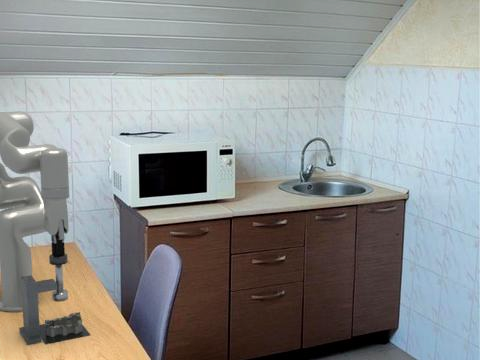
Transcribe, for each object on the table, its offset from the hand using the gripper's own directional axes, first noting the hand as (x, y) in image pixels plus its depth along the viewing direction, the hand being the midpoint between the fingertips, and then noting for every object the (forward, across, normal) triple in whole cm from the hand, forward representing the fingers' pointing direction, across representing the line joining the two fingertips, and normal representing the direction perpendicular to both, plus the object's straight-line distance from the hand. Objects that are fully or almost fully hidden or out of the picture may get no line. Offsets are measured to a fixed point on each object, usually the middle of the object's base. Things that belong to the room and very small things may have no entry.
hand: (58, 255), depth 193 cm
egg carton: (+23, 0, 0) cm, 23 cm away
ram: (+13, 0, 0) cm, 13 cm away
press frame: (+23, 0, -2) cm, 23 cm away
